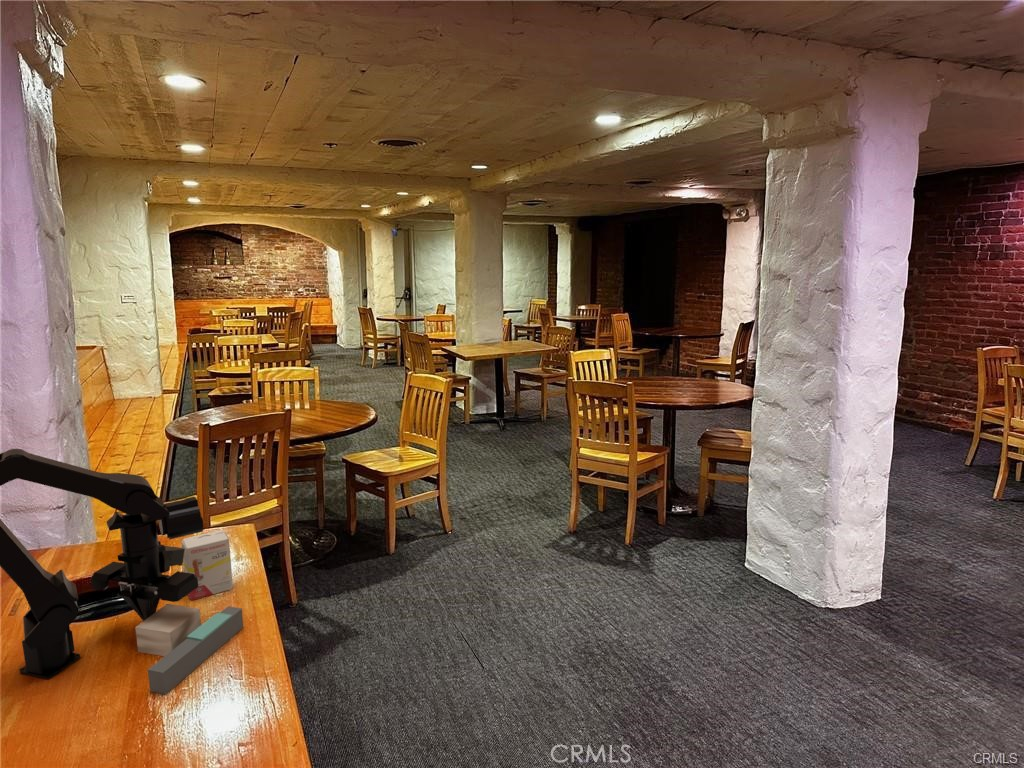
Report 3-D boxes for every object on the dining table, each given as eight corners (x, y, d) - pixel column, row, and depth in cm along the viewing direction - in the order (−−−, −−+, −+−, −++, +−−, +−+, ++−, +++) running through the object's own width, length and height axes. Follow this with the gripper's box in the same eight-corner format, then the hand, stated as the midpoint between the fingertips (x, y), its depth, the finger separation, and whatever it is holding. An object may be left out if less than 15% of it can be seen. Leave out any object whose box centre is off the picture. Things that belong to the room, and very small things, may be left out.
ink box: (190, 601, 136) (184, 548, 133) (184, 591, 140) (179, 539, 137) (233, 589, 141) (229, 537, 138) (227, 579, 145) (223, 529, 142)
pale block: (172, 657, 118) (169, 632, 117) (138, 652, 119) (135, 627, 118) (201, 632, 126) (199, 608, 124) (169, 627, 127) (166, 603, 126)
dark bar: (165, 694, 108) (163, 670, 107) (149, 691, 109) (147, 667, 108) (243, 627, 127) (242, 606, 126) (229, 625, 128) (227, 604, 127)
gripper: (214, 532, 126) (221, 607, 129) (132, 521, 130) (140, 593, 133) (172, 559, 115) (180, 639, 119) (83, 546, 120) (94, 624, 123)
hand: (149, 622), depth 124 cm, fingers closed
